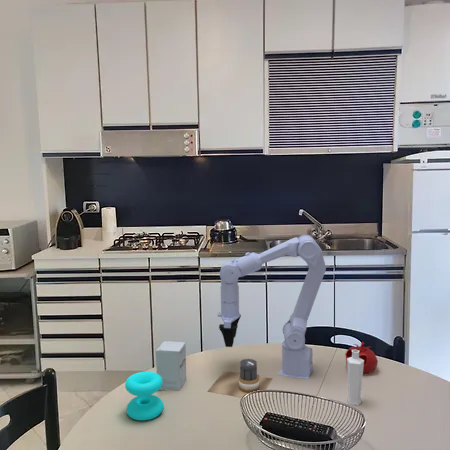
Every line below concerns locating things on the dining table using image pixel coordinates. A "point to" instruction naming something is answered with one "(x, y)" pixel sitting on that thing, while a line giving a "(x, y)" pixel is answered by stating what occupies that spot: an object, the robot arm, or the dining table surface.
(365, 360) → the pomegranate
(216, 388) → the board
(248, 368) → the cap
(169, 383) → the supplement box
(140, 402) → the donuts
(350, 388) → the perfume bottle
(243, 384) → the jar
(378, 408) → the dining table surface
